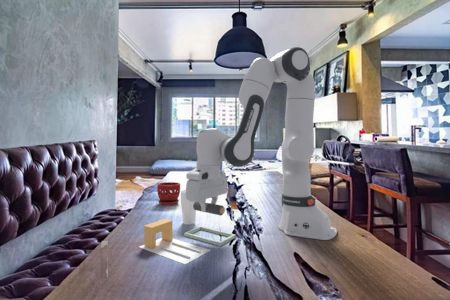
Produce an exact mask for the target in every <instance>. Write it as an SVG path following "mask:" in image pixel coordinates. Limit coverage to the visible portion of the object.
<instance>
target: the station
mask: <svg viewBox="0 0 450 300" xmlns="http://www.w3.org/2000/svg"><path fill="white" fill-rule="evenodd" d="M138 248H140V249H143V250H145V251H148V252H151V253H154V254H156V255H159V256H161V257H165V258H167V259H170V260H172V261H175V262H177V263H180V264H183V265H187V264H189V263H191V262H192V261H194V260H196V259H198V258H200V257H201V256H203V255H205V254H207V253H208V252H210V251H212V250H211V249H209V248H206V247H202V246H199V245H196V244H192V243H189V242H187V241H183V240H179V239H176V238H173V240H171V241H167V240H164V239H162V237H160V238H158V239H157V238H156V247H155V248H149V247H146V246H144V244H143V245H139V246H138Z"/></svg>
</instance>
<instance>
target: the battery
mask: <svg viewBox="0 0 450 300" xmlns="http://www.w3.org/2000/svg"><path fill="white" fill-rule="evenodd" d="M205 205H206V206H207V211H201V205H200V203H199V201H198V202H195V203H194V204H193V208H194V210H196V212H198V211H199V212H203V213H208V214H210V215H211V214H212V215H216V216H222V215H224V214H225V212H226V209H225V206H224V205H222V204H221V205H220V204H217V203H216V204H211V202H210V203H209V202H205Z"/></svg>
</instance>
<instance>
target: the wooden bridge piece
mask: <svg viewBox="0 0 450 300" xmlns="http://www.w3.org/2000/svg"><path fill="white" fill-rule="evenodd" d="M173 231H174V230H173V220H171V219H168V218H163V219H160V220H156V221H155V222H154V221H153V222H151V223H148V224H145V225H143V234H144V235H143V240H144V242H143V243H144V244H143V245H144V246H146V247H149V248H155V247H156V240H157V237H156V236H157V235H156V234H159V233H161V238H162V239H164V240H167V241H171V240H173V239H174V238H173V237H174V236H173V235H174V234H173Z"/></svg>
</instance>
